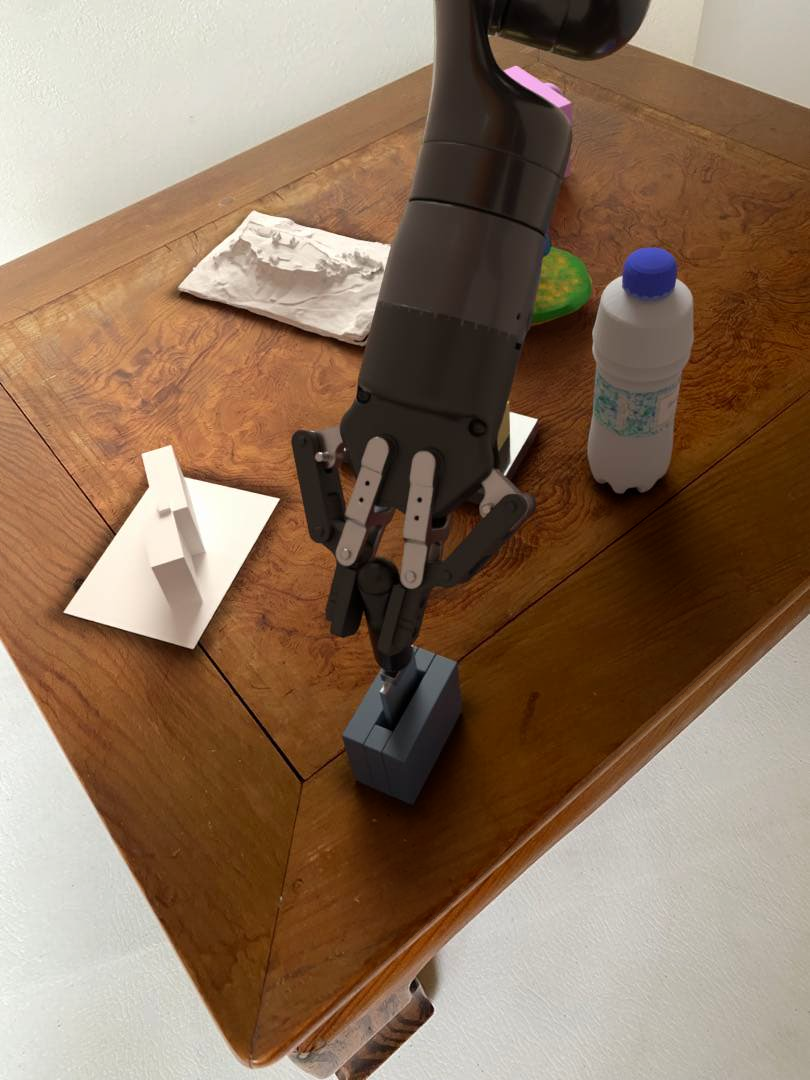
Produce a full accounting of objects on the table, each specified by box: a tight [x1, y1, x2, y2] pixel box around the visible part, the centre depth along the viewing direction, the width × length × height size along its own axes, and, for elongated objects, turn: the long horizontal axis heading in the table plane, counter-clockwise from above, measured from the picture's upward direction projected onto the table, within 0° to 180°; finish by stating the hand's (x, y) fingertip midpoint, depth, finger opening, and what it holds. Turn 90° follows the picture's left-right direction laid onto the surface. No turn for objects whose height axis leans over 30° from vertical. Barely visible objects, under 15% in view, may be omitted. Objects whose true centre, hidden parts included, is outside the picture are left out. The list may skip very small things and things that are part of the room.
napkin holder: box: [62, 444, 281, 650], centre depth 74 cm, size 15×11×6 cm
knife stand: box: [341, 645, 463, 805], centre depth 62 cm, size 4×7×6 cm, turn 153°
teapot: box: [502, 65, 574, 178], centre depth 101 cm, size 18×14×10 cm
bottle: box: [587, 247, 695, 495], centre depth 70 cm, size 7×7×20 cm
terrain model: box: [177, 209, 392, 347], centre depth 96 cm, size 17×23×5 cm
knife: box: [357, 556, 420, 732], centre depth 57 cm, size 2×4×19 cm, turn 153°
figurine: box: [530, 235, 593, 327], centre depth 86 cm, size 14×13×15 cm
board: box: [342, 411, 539, 506], centre depth 81 cm, size 14×9×2 cm, turn 63°
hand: (367, 641), depth 52 cm, fingers closed on knife, 2 cm apart
